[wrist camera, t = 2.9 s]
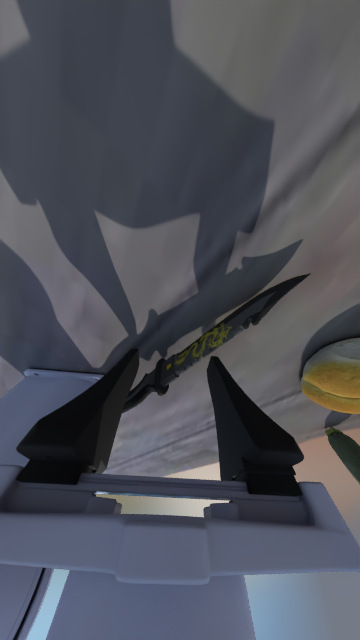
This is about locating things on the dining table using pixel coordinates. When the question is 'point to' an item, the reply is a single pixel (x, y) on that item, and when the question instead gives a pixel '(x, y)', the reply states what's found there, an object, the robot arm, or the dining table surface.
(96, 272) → the dining table surface
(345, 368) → the bread roll
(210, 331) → the knife
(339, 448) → the vegetable
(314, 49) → the dining table surface
